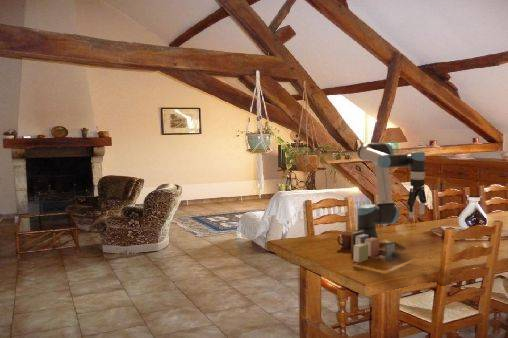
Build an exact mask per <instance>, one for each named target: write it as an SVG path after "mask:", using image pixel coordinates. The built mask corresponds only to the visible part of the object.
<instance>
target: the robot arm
mask: <svg viewBox="0 0 508 338" xmlns="http://www.w3.org/2000/svg"><path fill="white" fill-rule="evenodd" d="M357 156H358V159H360V160H362V161H367V162H368V161H370V162H372V164H373V165H374V166H375V167H374V168H375V169H374V170H375V177H376V178H375V179H376V191H377V200H378V202H377V203H376V204H374V203H373V204H372V203H371V204H368V203H367V204H363V205H362V204H361V205H360V206H359V207H357V212H356V213H357V214H356V215H357V229H356V232H358V231H364V234H366V235H369V238H372V237H373V238H378V239H379V240H380V238H379V236H378V232H377V225H392V224H396V223H397V222H398V220H399V218H400V209H399V207H398V206H397V205H396V204H395V202H394V201H393V199H392V198H393V197H392V196H393V195H392V187H391V177H390V168H410V186H411V187H412V188H410V189H409V195H408V199H407V203H406V205H407V207H408V218H410V219H411V218H413V219H414V218H415V206H414V205H415V203H416V200H417V198H418V200H419V203H418V204H419V205H418V206H419V208H418V209H419V211H418V212H419V213H418V214H419V215H425V206H426V205H425V204H426V203H427V195H426V191H425V176H426V171H425V170H426V153H425V152H424V151H412V152H410V153H403V154H402V153H401V154H394V150H393V147H392V146H391V144H390V143H388V142H365V143H363V144H361V145H360V146H359V147H358V148H357Z"/></svg>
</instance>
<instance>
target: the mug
mask: <svg viewBox="0 0 508 338" xmlns="http://www.w3.org/2000/svg"><path fill="white" fill-rule="evenodd" d="M351 233H354V231H353V232H352V231H342V232H340V235H338V236H337V239H336V240H337V244H338V245H339V246H340V247H341V249H344V250H351ZM340 238H341V242H340Z"/></svg>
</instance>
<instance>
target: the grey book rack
mask: <svg viewBox="0 0 508 338" xmlns="http://www.w3.org/2000/svg"><path fill="white" fill-rule="evenodd" d="M353 232H354V231H353ZM361 234H364V231H358V232H357V231H355V232H354V233H351V249H350V254H353V246H354V245H355V236H358V235H361ZM394 256H396V257H399V258H398V259H401V253H400V252H395V254H394ZM368 258H372V259H376V260H381V261H383V262H384V261H385V262H392V261H388V260H385V249H380V248H379V254H378V255H375V256H372V257H369V256H368ZM395 260H397V259H395ZM395 260H394V261H395Z"/></svg>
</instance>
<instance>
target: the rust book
mask: <svg viewBox="0 0 508 338" xmlns="http://www.w3.org/2000/svg"><path fill="white" fill-rule="evenodd" d="M378 238H379V237H378ZM378 238H373V237H372V238H369V239H365V240H364V244H368V256H369V257H368V258H371V257H372V256H375V255H378V254H379V249H380V238H379V239H378Z"/></svg>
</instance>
